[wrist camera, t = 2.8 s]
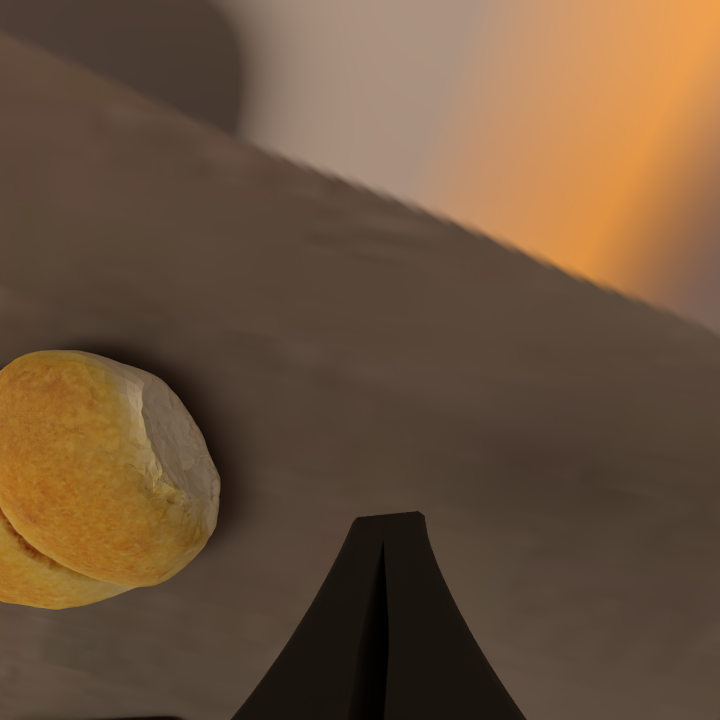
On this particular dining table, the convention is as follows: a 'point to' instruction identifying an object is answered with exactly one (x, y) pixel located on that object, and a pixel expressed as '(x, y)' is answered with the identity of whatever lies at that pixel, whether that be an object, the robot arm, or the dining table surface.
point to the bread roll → (96, 480)
